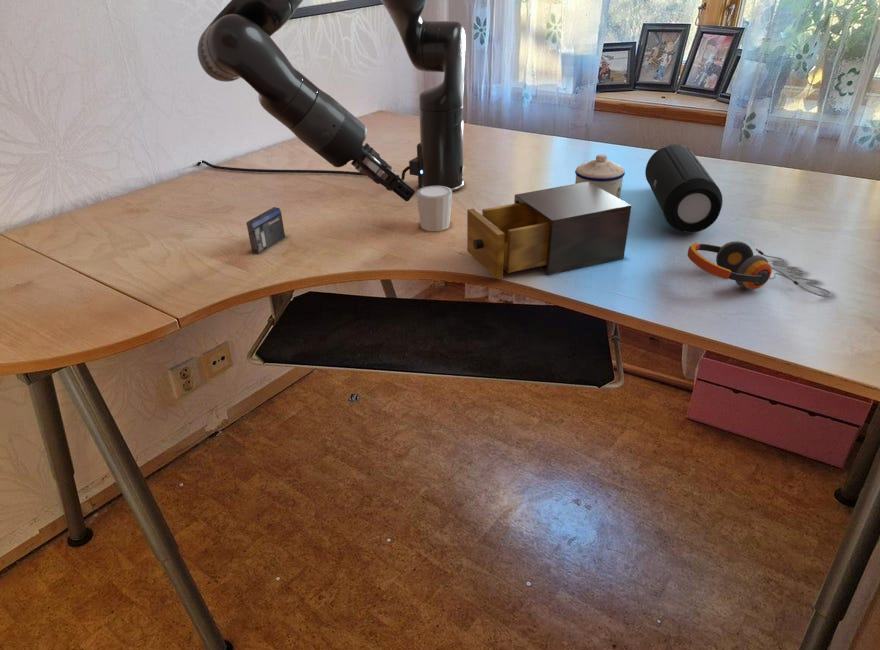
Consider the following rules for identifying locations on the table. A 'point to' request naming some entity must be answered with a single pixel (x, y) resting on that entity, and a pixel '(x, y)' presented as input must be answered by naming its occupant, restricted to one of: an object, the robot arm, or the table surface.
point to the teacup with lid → (601, 174)
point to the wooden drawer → (507, 238)
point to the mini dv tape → (265, 230)
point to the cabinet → (580, 225)
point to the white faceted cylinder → (434, 207)
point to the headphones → (743, 265)
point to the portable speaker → (683, 189)
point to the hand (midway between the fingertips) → (410, 195)
